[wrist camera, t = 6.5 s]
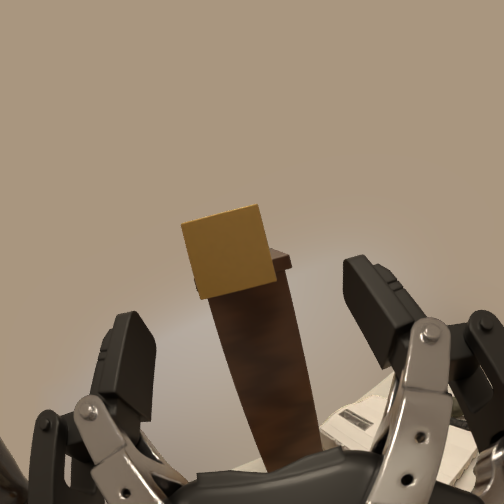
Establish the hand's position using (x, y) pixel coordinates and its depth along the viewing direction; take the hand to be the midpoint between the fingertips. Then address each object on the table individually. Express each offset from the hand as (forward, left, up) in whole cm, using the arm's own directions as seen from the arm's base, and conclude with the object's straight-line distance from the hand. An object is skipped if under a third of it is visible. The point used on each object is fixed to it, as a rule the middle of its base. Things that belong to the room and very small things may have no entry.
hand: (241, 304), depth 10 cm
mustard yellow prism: (0, +10, 0) cm, 10 cm away
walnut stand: (0, +16, -36) cm, 39 cm away
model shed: (+16, +16, -36) cm, 42 cm away
